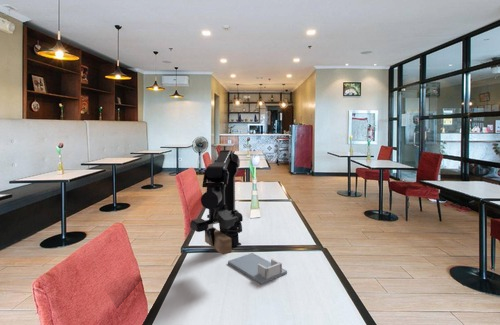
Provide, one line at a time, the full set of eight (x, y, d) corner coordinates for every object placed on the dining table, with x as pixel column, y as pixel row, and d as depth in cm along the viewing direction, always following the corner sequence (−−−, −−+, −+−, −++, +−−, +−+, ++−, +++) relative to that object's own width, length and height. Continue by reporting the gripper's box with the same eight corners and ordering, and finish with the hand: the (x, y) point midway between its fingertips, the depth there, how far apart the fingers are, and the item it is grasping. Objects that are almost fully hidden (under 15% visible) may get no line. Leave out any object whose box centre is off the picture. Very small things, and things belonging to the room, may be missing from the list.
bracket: (228, 263, 120) (227, 252, 120) (252, 255, 128) (252, 244, 127) (261, 284, 105) (261, 271, 104) (287, 273, 112) (287, 261, 111)
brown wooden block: (205, 241, 116) (204, 228, 116) (213, 239, 118) (213, 226, 118) (222, 254, 105) (222, 240, 104) (231, 252, 107) (231, 238, 106)
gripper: (205, 211, 97) (206, 258, 99) (251, 201, 109) (252, 244, 111) (188, 204, 106) (190, 247, 108) (233, 195, 118) (234, 235, 120)
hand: (217, 243), depth 111 cm, fingers closed on brown wooden block, 4 cm apart
